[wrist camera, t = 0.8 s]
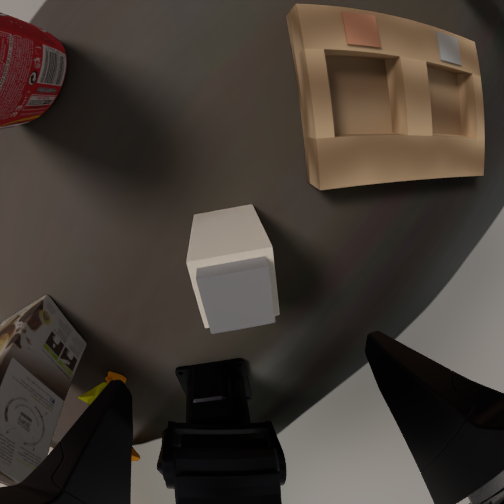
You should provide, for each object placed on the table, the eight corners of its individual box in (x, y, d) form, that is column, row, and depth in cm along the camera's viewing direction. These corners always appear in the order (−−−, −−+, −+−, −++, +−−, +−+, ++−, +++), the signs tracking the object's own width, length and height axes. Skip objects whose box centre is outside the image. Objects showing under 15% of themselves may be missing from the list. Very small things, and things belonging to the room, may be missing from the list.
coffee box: (46, 290, 20) (-40, 443, 6) (89, 343, 23) (42, 499, 9) (1, 319, 21) (-65, 436, 6) (38, 363, 23) (-7, 483, 9)
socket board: (464, 168, 20) (484, 176, 18) (307, 181, 19) (321, 191, 17) (455, 44, 15) (476, 41, 13) (286, 16, 14) (297, 2, 12)
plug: (259, 256, 21) (283, 326, 14) (205, 266, 21) (205, 340, 14) (252, 204, 20) (277, 256, 12) (194, 214, 19) (184, 272, 12)
